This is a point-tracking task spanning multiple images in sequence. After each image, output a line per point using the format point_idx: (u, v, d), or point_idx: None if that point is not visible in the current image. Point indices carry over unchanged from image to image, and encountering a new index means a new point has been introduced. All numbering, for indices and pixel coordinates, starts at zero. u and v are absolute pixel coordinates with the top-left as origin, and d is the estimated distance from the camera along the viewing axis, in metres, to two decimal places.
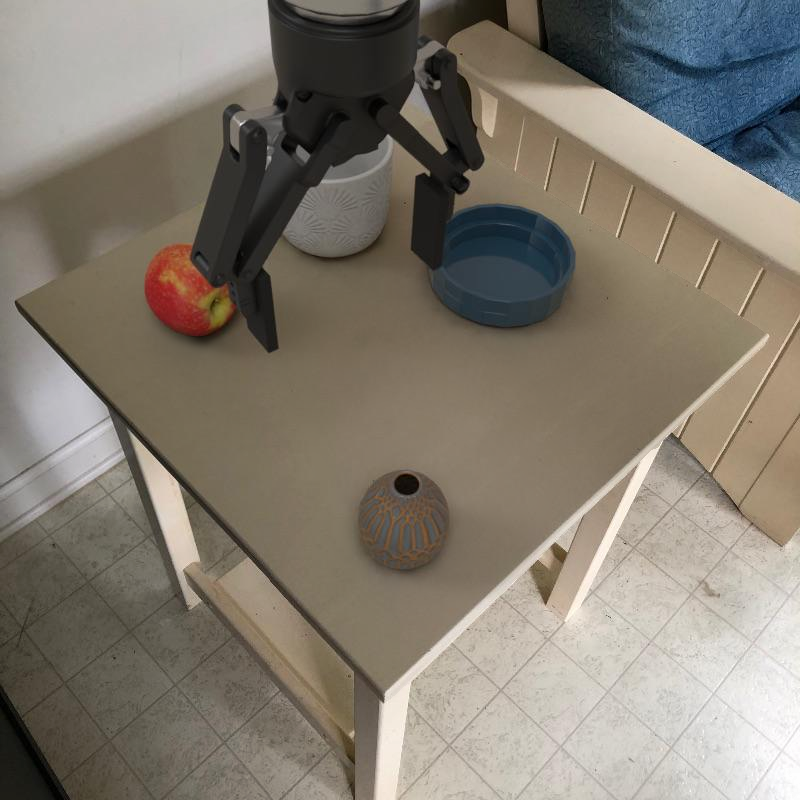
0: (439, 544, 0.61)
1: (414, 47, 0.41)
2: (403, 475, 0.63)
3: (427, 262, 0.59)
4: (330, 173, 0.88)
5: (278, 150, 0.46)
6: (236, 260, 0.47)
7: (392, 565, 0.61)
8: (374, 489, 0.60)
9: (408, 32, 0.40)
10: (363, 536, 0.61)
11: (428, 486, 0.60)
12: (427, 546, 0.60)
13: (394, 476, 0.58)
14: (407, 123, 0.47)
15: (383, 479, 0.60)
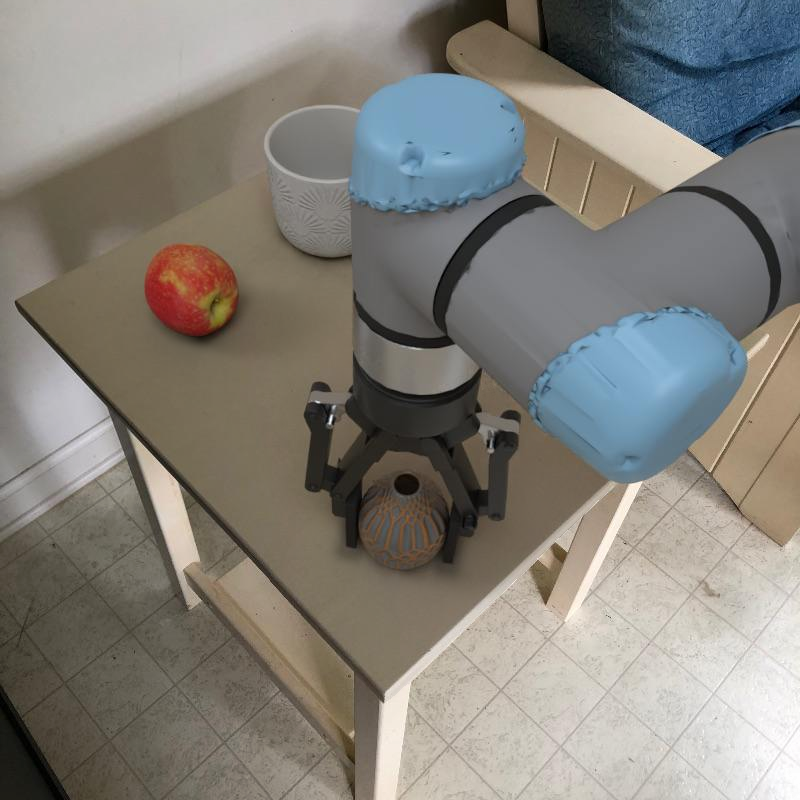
0: (439, 544, 0.61)
1: (445, 421, 0.47)
2: (403, 475, 0.63)
3: (444, 552, 0.64)
4: (330, 173, 0.88)
5: None
6: None
7: (392, 565, 0.61)
8: (374, 489, 0.60)
9: (432, 412, 0.45)
10: (363, 536, 0.61)
11: (428, 486, 0.60)
12: (427, 546, 0.60)
13: (394, 476, 0.58)
14: (446, 460, 0.52)
15: (383, 479, 0.60)
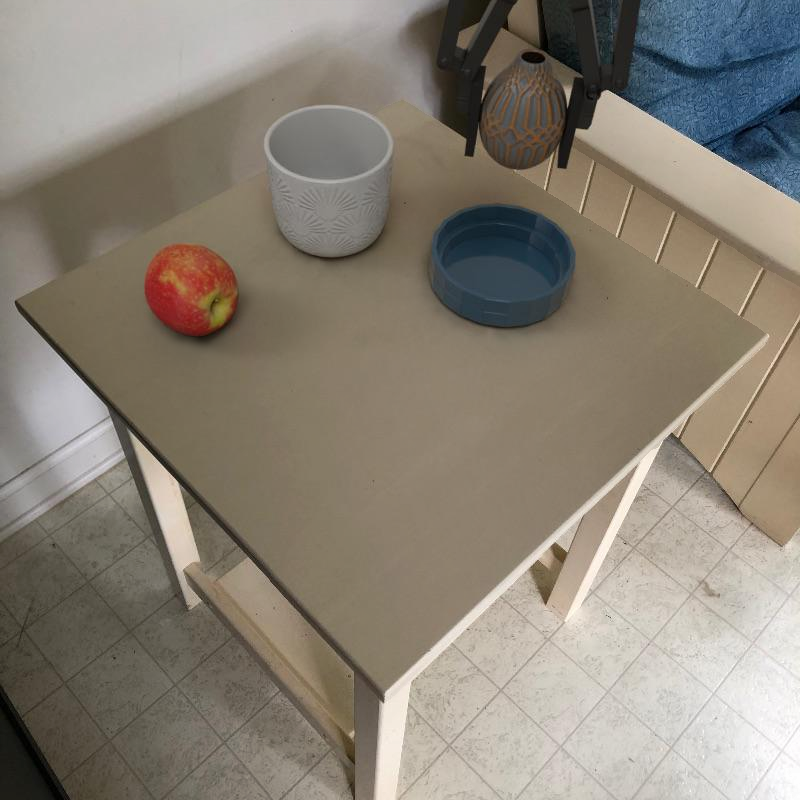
0: (559, 131, 0.64)
1: None
2: None
3: (558, 160, 0.67)
4: (330, 173, 0.88)
5: None
6: None
7: (514, 153, 0.64)
8: (498, 75, 0.64)
9: None
10: (487, 124, 0.64)
11: None
12: (550, 125, 0.63)
13: (521, 51, 0.62)
14: None
15: None
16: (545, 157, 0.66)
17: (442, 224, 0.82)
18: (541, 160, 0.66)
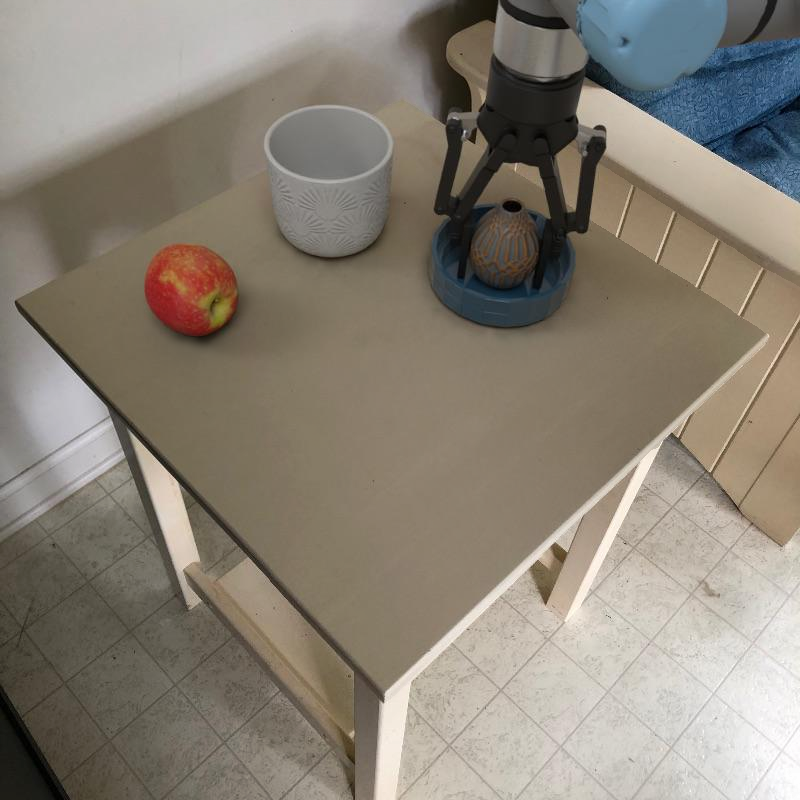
0: (534, 261, 0.78)
1: (559, 109, 0.64)
2: None
3: (534, 280, 0.82)
4: (330, 173, 0.88)
5: (488, 145, 0.73)
6: None
7: (497, 279, 0.79)
8: (484, 217, 0.78)
9: (552, 96, 0.63)
10: (475, 256, 0.79)
11: (527, 212, 0.77)
12: (526, 258, 0.77)
13: (502, 201, 0.76)
14: (550, 163, 0.70)
15: (491, 210, 0.78)
16: (523, 280, 0.80)
17: (442, 224, 0.82)
18: (520, 283, 0.80)
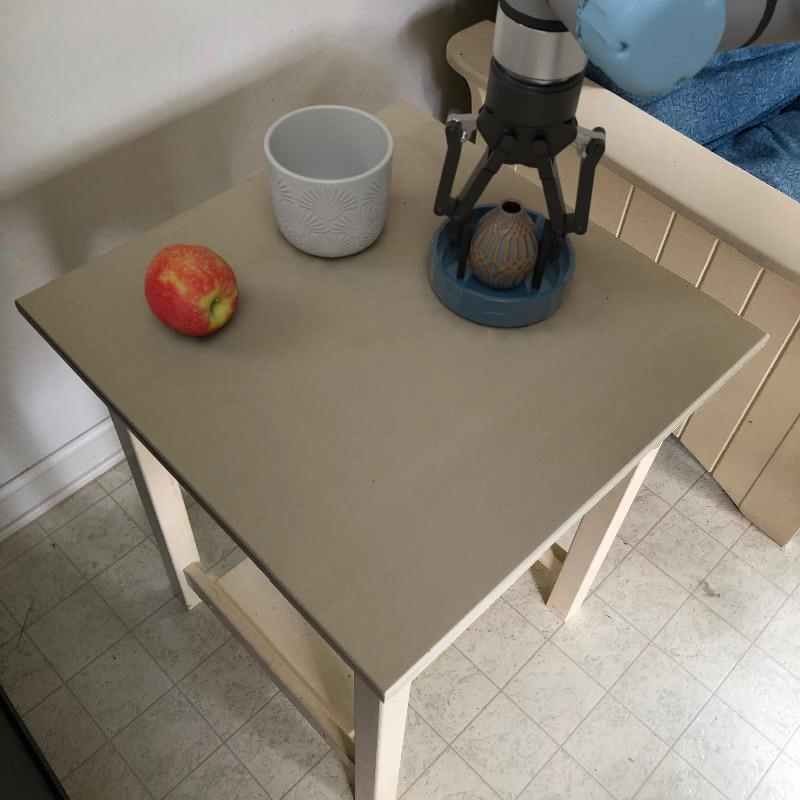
0: (533, 262, 0.79)
1: (558, 111, 0.65)
2: None
3: (533, 281, 0.82)
4: (330, 173, 0.88)
5: (488, 147, 0.73)
6: None
7: (496, 280, 0.79)
8: (484, 218, 0.78)
9: (551, 99, 0.63)
10: (474, 256, 0.79)
11: (526, 213, 0.78)
12: (525, 259, 0.78)
13: (501, 202, 0.76)
14: (550, 165, 0.70)
15: None
16: (522, 281, 0.80)
17: (442, 224, 0.82)
18: (519, 283, 0.80)
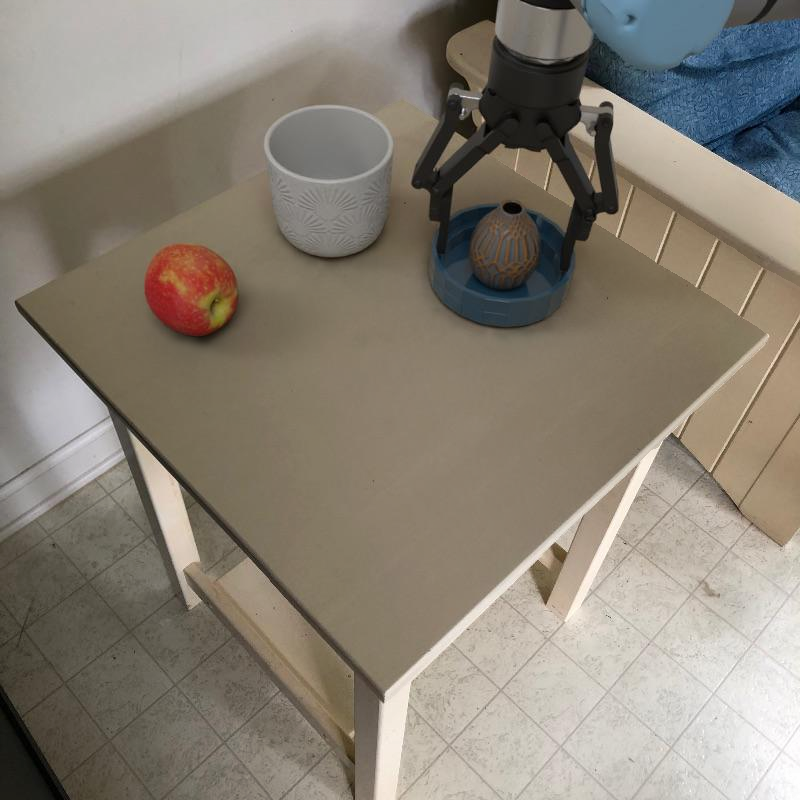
0: (534, 263, 0.79)
1: (562, 92, 0.63)
2: None
3: (560, 263, 0.80)
4: (330, 173, 0.88)
5: (483, 125, 0.71)
6: (434, 180, 0.75)
7: (497, 281, 0.79)
8: (484, 218, 0.78)
9: (555, 79, 0.62)
10: (475, 257, 0.79)
11: (527, 214, 0.77)
12: (526, 260, 0.78)
13: (502, 203, 0.76)
14: (559, 146, 0.69)
15: (491, 211, 0.78)
16: (523, 282, 0.80)
17: None
18: (519, 284, 0.80)
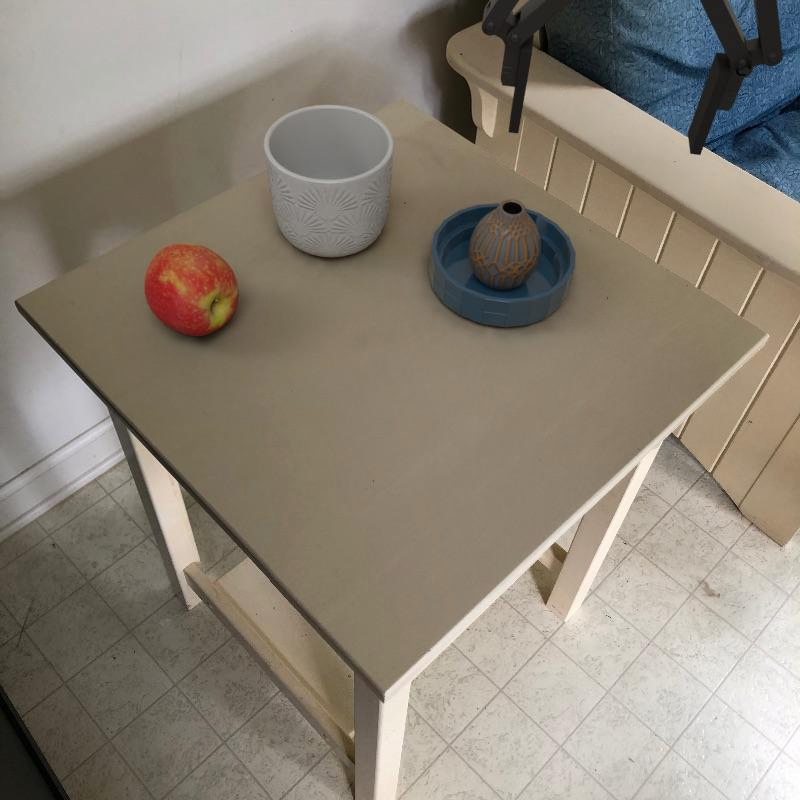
0: (534, 263, 0.79)
1: None
2: None
3: (690, 145, 0.62)
4: (330, 173, 0.88)
5: None
6: (512, 23, 0.57)
7: (497, 281, 0.79)
8: (484, 218, 0.78)
9: None
10: (475, 257, 0.79)
11: (527, 214, 0.77)
12: (526, 260, 0.78)
13: (502, 203, 0.76)
14: None
15: (491, 211, 0.78)
16: (523, 282, 0.80)
17: (442, 224, 0.82)
18: (519, 284, 0.80)
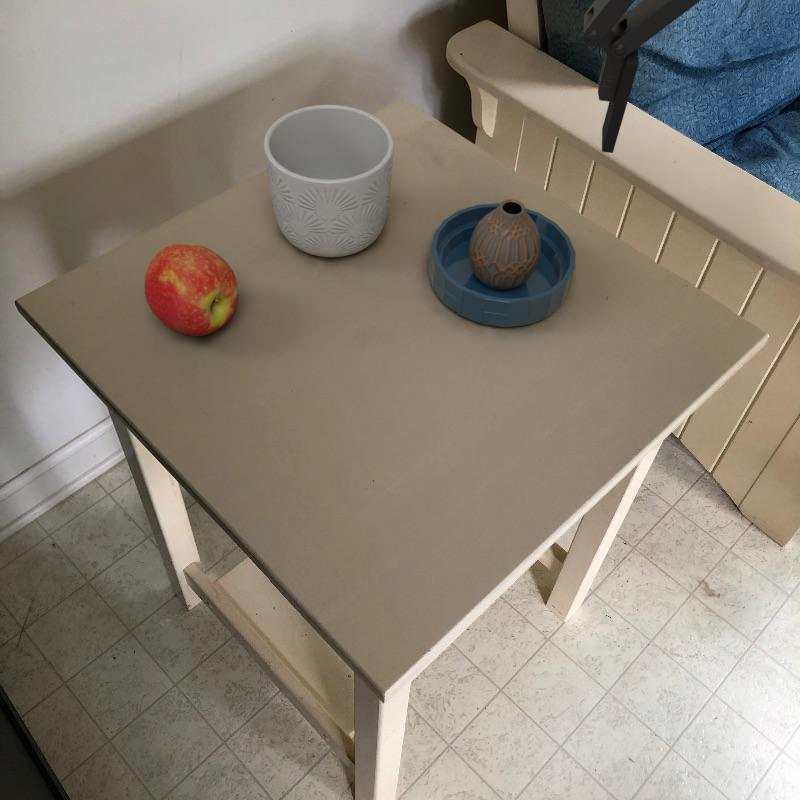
0: (534, 263, 0.79)
1: None
2: None
3: None
4: (330, 173, 0.88)
5: None
6: (618, 32, 0.51)
7: (497, 281, 0.79)
8: (484, 218, 0.78)
9: None
10: (475, 257, 0.79)
11: (527, 214, 0.77)
12: (526, 260, 0.78)
13: (502, 203, 0.76)
14: None
15: (491, 211, 0.78)
16: (523, 282, 0.80)
17: (442, 224, 0.82)
18: (519, 284, 0.80)
